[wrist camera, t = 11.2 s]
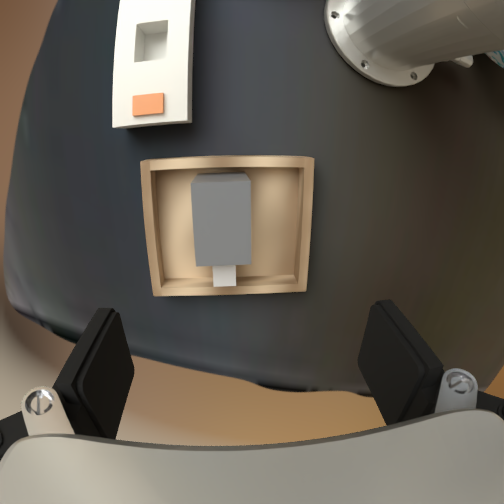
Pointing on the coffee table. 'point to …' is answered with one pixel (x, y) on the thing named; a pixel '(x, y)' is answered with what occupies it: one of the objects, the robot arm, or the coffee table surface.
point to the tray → (262, 224)
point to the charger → (222, 223)
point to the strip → (153, 63)
